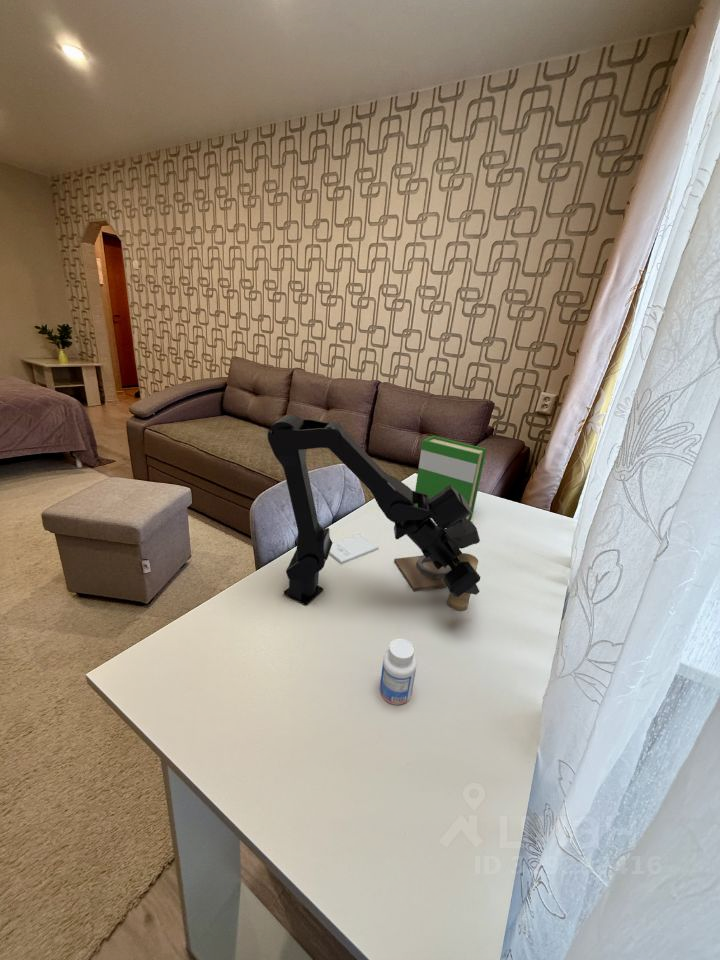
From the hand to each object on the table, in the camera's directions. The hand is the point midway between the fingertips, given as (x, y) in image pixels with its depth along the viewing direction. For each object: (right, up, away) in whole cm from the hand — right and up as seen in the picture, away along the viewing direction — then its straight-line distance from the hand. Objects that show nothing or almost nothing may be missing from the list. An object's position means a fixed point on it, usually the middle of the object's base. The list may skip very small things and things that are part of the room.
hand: (468, 579), depth 86 cm
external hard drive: (-26, +3, +20) cm, 33 cm away
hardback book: (+3, +10, +43) cm, 44 cm away
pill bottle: (-18, -14, -20) cm, 30 cm away
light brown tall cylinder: (-2, -6, +2) cm, 7 cm away
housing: (-6, -1, +13) cm, 14 cm away
